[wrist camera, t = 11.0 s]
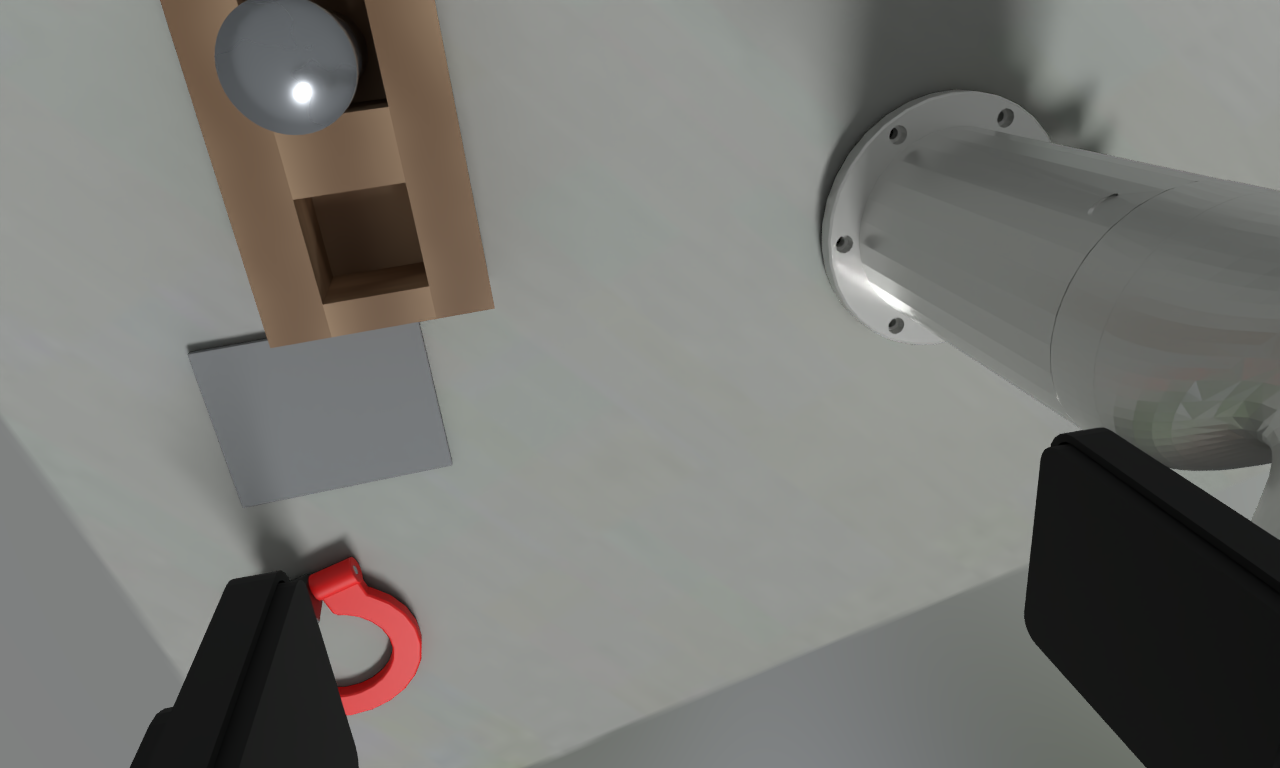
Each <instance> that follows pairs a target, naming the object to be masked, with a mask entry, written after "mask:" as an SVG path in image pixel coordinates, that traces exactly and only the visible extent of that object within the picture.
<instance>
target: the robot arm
mask: <svg viewBox="0 0 1280 768" xmlns="http://www.w3.org/2000/svg"><path fill="white" fill-rule="evenodd" d="M998 114H999V115H998ZM892 129H893V131H894V132H893V135H892V136H891V137H889V136H890V132H891V130H892ZM840 237H841V241H840V243H839V244H837V245H836V243H837V240H838V239H839V238H840ZM822 253H823V259H824V264H825V270H826V273H827V276H828V278H829V281H830V284H831V286H832V289H833V291H834V293H835V294H836V296H837V297H838V299H839V300H840V302H841V303H842V305H843V306H844V308H845V309H846V310H847V311H848V312H849V313H850V314H851V315H852V316H854V317H855V318H856V319H857V320H858V321H859V322H860V323H861V324H863V325H864V326H866V327H867V328H869V329H870V330H872V331H873V332H874V333H876V334H878V335H881V336H883V337H885V338H887V339H889V340H892V341H896V342H901V343H906V344H911V345H934V344H939V343H944V342H947V343H949V344H950V345H952V346H953V347H955V348H956V349H958V350H960V351H961V352H963V353H964V354H966V355H967V356H969V357H970V358H972V359H973V360H975V361H977V362H978V363H980V364H981V365H983V366H984V367H986V368H987V369H989V370H991V371H992V372H994V373H995V374H997V375H998V376H1000V377H1001V378H1003V379H1004V380H1006V381H1008V382H1009V383H1011V384H1012V385H1014V386H1015V387H1017V388H1018V389H1020V390H1021V391H1023V392H1025V393H1026V394H1028V395H1029V396H1031V397H1032V398H1034V399H1035V400H1037V401H1038V402H1040V403H1042V404H1043V405H1045V406H1046V407H1048V408H1049V409H1051V410H1052V411H1054V412H1056V413H1057V414H1059V415H1060V416H1062V417H1063V418H1065V419H1066V420H1068V421H1069V422H1071V423H1073V424H1074V425H1076V426H1077V427H1079V428H1080V429H1082V430H1081V431H1075V432H1069V433H1064V434H1060V435H1058V436H1056V437H1055V438H1054V440H1053V442H1052V443H1051V447H1048V448H1047V449H1045V450H1044V452H1043V453H1042V456H1041V461H1040V470H1039V480H1038V489H1037V498H1036V507H1035V517H1034V526H1033V535H1032V545H1031V554H1030V563H1029V573H1028V582H1027V591H1026V601H1025V610H1024V619H1025V624H1026V627H1027V630H1028V632H1029V634H1030V636H1031V638H1032V640H1033V641H1034V642H1035V644H1036V645H1037V646H1038V647H1039V648H1040V649H1041V650H1042V652H1043V653H1044V654H1045V655H1046V656H1047V657H1048V658H1049V659H1050V661H1051V662H1052V663H1053V664H1054V665H1055V666H1056V667H1057V668H1058V669H1059V671H1060V672H1061V673H1062V674H1063V675H1064V676H1065V677H1066V678H1067V680H1069V682H1070V683H1071V684H1072V685H1073V686H1074V687H1075V688H1076V690H1078V692H1079V693H1080V694H1081V695H1082V696H1083V697H1084V698H1085V699H1086V701H1087V702H1088V703H1089V704H1090V705H1091V706H1092V707H1093V709H1094V710H1095V711H1096V712H1097V713H1098V714H1099V715H1100V716H1101V718H1102V719H1103V720H1104V721H1105V722H1106V723H1107V724H1108V725H1109V726H1110V727H1111V729H1112V730H1113V731H1114V732H1115V733H1116V734H1117V735H1118V737H1120V739H1121V740H1122V741H1123V742H1124V743H1125V744H1126V745H1127V747H1128V748H1129V749H1130V750H1131V751H1132V752H1133V753H1134V754H1135V756H1136V757H1137V758H1138V759H1139V760H1140V761H1141V762H1142V763H1143V764H1144V766H1145V767H1147V768H1280V191H1279V190H1274V189H1269V188H1265V187H1260V186H1255V185H1250V184H1246V183H1241V182H1236V181H1230V180H1223V179H1218V178H1214V177H1209V176H1204V175H1200V174H1195V173H1190V172H1186V171H1181V170H1176V169H1171V168H1167V167H1162V166H1157V165H1153V164H1148V163H1143V162H1139V161H1134V160H1129V159H1125V158H1120V157H1115V156H1111V155H1106V154H1101V153H1097V152H1092V151H1087V150H1082V149H1078V148H1073V147H1068V146H1064V145H1059V144H1054V143H1051V140H1050V138H1049V136H1048V134H1047V133H1046V131H1045V130H1044V129H1043V128H1042V126H1041V125H1040V124H1039V123H1038V121H1037V120H1036V119H1035V117H1033V116H1032V115H1031V114H1030V113H1028V112H1027V111H1026V110H1025V109H1023V108H1022V107H1021V106H1019V105H1018V104H1016V103H1014V102H1012V101H1010V100H1007V99H1005V98H1003V97H1001V96H999V95H994V94H989V93H984V92H979V91H968V90H949V91H943V92H936V93H931V94H928V95H926V96H923V97H920V98H917V99H915V100H912V101H909V102H907V103H906V104H904V105H902V106H901V107H899V108H897V109H896V110H894V111H892V112H891V113H889V114H887V115H886V116H885V117H884V118H882V119H881V120H880V121H879V122H878V123H877V124H876V125H874V126H873V127H872V128H871V129H870V130H869V131H867V132H866V134H865V135H864V136H863V137H862V138H861V140H860V141H859V142H858V143H857V145H856V146H855V147H854V148H853V149H852V151H851V152H850V153H849V155H848V157H847V158H846V160H845V162H844V163H843V165H842V167H841V169H840V170H839V172H838V174H837V175H836V178H835V181H834V183H833V186H832V188H831V191H830V194H829V196H828V199H827V203H826V208H825V213H824V218H823V223H822ZM1270 463H1271V469H1270V474H1269V478H1268V480H1267V483H1266V485H1265V488H1264V490H1263V493H1262V496H1261V498H1260V501H1259V503H1258V506H1257V508H1256V511H1255V513H1254V515H1253V517H1252V520H1251V521H1250V520H1248V519H1247V518H1245V517H1243V516H1242V515H1240V514H1239V513H1237V512H1236V511H1234V510H1233V509H1231V508H1230V507H1228V506H1227V505H1225V504H1223V503H1222V502H1220V501H1219V500H1217V499H1216V498H1214V497H1213V496H1211V495H1210V494H1208V493H1207V492H1205V491H1204V490H1202V489H1200V488H1199V487H1197V486H1196V485H1194V484H1193V483H1191V482H1190V481H1188V480H1187V479H1185V478H1184V477H1182V476H1180V475H1179V474H1177V473H1176V472H1174V471H1173V470H1171V469H1170V468H1172V469H1177V470H1187V471H1215V470H1230V469H1238V468H1245V467H1252V466H1259V465H1265V464H1270ZM130 768H359V766H358V756H357V751H356V746H355V743H354V740H353V736H352V733H351V730H350V727H349V723H348V720H347V717H346V714H345V710H344V707H343V704H342V700H341V697H340V694H339V691H338V687H337V684H336V681H335V677H334V674H333V671H332V668H331V664H330V661H329V658H328V654H327V651H326V648H325V645H324V641H323V638H322V635H321V632H320V628H319V625H318V622H317V618H316V615H315V612H314V609H313V605H312V602H311V599H310V595H309V592H308V589H307V587H306V584H305V583H304V581H302V580H296V581H291V582H290V581H289V579H288V577H287V575H286V574H285V573H284V572H283V571H276V572H270V573H265V574H259V575H253V576H248V577H242V578H236V579H232V580H230V581H229V582H228V584H227V585H226V587H225V590H224V592H223V594H222V597H221V599H220V601H219V603H218V606H217V608H216V610H215V613H214V615H213V617H212V619H211V622H210V624H209V626H208V629H207V631H206V633H205V635H204V638H203V640H202V642H201V645H200V647H199V649H198V651H197V654H196V656H195V658H194V661H193V663H192V665H191V667H190V670H189V672H188V674H187V677H186V679H185V681H184V684H183V686H182V688H181V690H180V693H179V695H178V697H177V700H176V702H175V704H174V706H173V707H170V708H165V709H163V710H162V711H160V712H159V713H157V714H156V716H155V717H154V719H153V720H152V722H151V724H150V725H149V727H148V729H147V732H146V734H145V736H144V738H143V740H142V742H141V745H140V747H139V749H138V751H137V753H136V755H135V758H134V760H133V762H132V764H131V766H130Z"/></svg>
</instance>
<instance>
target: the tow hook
mask: <svg viewBox="0 0 1280 768" xmlns="http://www.w3.org/2000/svg"><path fill="white" fill-rule="evenodd" d="M296 580H302V581H304V583H305V584H306V587H307V589H308V592H309V595H310V599H311V602H312V605H313V609H314V612H315V615H316V618H317V622H318V623H319V621H320V614H321V607H322V601H324V602H325V603H326V605H327V606H328V607H329V609H330V610H331V611H332V613H334V614H337V615H350V616H357V617H361V618H364V619H366V620H369V621H371V622H373V623H374V624H376V625H377V626H379V627H380V628H382V629H383V631H384V632H385V633H386V634H387V636H388V637H389V639H390V642H391V644H392V647H393V651H392V654H391V657H390V660H389V661H388V663H387V664H386V665H385V667H384V668H383V669H382V670H381V671H380V672H379V673H377V674H376V675H375V676H374V677H372V678H370V679H368V680H366V681H364V682H362V683H359V684H355V685H351V686H347V687H338V691H339V694H340V697H341V700H342V704H343V707H344V710H345V714H346V715H353V714H357V713H360V712H364V711H368V710H371V709H373V708H376V707H378V706H380V705H382V704H384V703H386V702H388V701H390V700H391V699H392V698H394V697H395V696H396V695H397V694H398V693H400V692H401V691H402V690H403V689H405V688H406V686H407V685H408V684H409V682H410V681H411V680H412V678H413V677H414V676H415V674H416V672H417V669H418V666H419V663H420V661H421V644H422V640H421V632H420V629H419V626H418V623H417V620H416V619H415V617H414V616H413V615H412V614H411V612H410V611H409V610H408V608H407V607H406V606H405V605H404V604H402V603H401V602H399V601H398V600H397V599H395V598H394V597H393V596H391V595H389V594H387V593H384V592H382V591H379V590H377V589H374V588H372V587H368V586H367V584H366V583H365V582H364V580H363V576H362V571H361V568H360V566H359V564H358V562H357V561H356V560H355V559H354V558H353V557H350V558H347V559H345V560H343V561H341V562H338V563H336V564H334V565H332V566H329V567H327V568H325V569H323V570H320V571H318V572H316V573H314V574H306V575H304V576H302V577H300V578H297V579H295V580H293V581H296Z"/></svg>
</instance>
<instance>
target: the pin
mask: <svg viewBox="0 0 1280 768" xmlns="http://www.w3.org/2000/svg"><path fill="white" fill-rule="evenodd" d="M214 57H215V67H216V71H217V75H218V78H219V81H220V84H221V86H222V88H223V90H224V92H225V94H226V95H227V97H228V98H229V100H230V101H231V102H232V104H233V105H234V106H235V107H236V108H237V109H238V110H239V111H240V112H241V113H242V114H243V115H244V116H245V117H247V118H248V119H249V120H251V121H252V122H254V123H255V124H257V125H259V126H261V127H263V128H265V129H267V130H270V131H273V132H276V133H281V134H286V135H305V134H310V133H314V132H317V131H320V130H322V129H324V128H326V127H328V126H329V125H331V124H332V123H334V122H335V121H336V120H337V119H338V118H339V117H340V116H341V115H342V114H343V113H344V112H345V110H346V109H347V108H348V107H349V105H350V103H351V101H352V100H353V97H354V95H355V92H356V89H357V84H358V79H359V78H360V77H361V75H362V74H363V72H364V70H365V67H366V64H367V58H368V50H367V45H366V41H365V39H364V36H363V34H362V33H361V31H360V29H359V28H358V27H357V25H356V24H355V23H354V22H353V21H352V20H350V19H349V18H348V17H346V16H345V15H343V14H341V13H339V12H336V11H333V10H327V9H324V8H322V7H320V6H319V5H317V4H315V3H313V2H311V1H309V0H247V1H245V2H243V3H241V4H240V5H239V6H237V7H236V8H235V9H234V10H233V11H232V12H231V13H230V14H229V15H228V16H227V17H226V19H225V20H224V22H223V23H222V25H221V27H220V29H219V32H218V35H217V38H216V43H215V56H214Z"/></svg>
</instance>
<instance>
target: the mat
mask: <svg viewBox="0 0 1280 768" xmlns="http://www.w3.org/2000/svg"><path fill="white" fill-rule="evenodd" d="M188 358H189V360H190V363H191V366H192V369H193V371H194V374H195V377H196V380H197V383H198V385H199V388H200V391H201V394H202V396H203V399H204V402H205V405H206V407H207V410H208V413H209V416H210V419H211V421H212V424H213V427H214V430H215V432H216V435H217V438H218V441H219V443H220V446H221V449H222V452H223V455H224V457H225V460H226V463H227V466H228V468H229V471H230V474H231V477H232V479H233V482H234V485H235V488H236V491H237V493H238V496H239V499H240V502H241V504H242V507H243V508H245V507H250V506H255V505H260V504H265V503H269V502H274V501H279V500H284V499H289V498H294V497H299V496H304V495H309V494H314V493H319V492H323V491H328V490H333V489H338V488H343V487H348V486H353V485H358V484H363V483H368V482H372V481H377V480H382V479H387V478H392V477H397V476H402V475H407V474H412V473H417V472H422V471H426V470H431V469H436V468H441V467H446V466H451V465H452V459H451V455H450V451H449V447H448V442H447V438H446V434H445V430H444V425H443V421H442V417H441V413H440V408H439V404H438V400H437V396H436V391H435V387H434V383H433V379H432V374H431V370H430V366H429V362H428V357H427V353H426V349H425V345H424V340H423V336H422V332H421V328H420V323H419V322H415V323H410V324H404V325H399V326H393V327H387V328H382V329H376V330H370V331H365V332H359V333H354V334H348V335H342V336H337V337H331V338H326V339H320V340H314V341H309V342H303V343H298V344H292V345H286V346H281V347H275V348H270V346H269V343H268V339H262V340H256V341H250V342H245V343H239V344H233V345H228V346H222V347H216V348H211V349H205V350H199V351H194V352H189V353H188Z"/></svg>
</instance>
